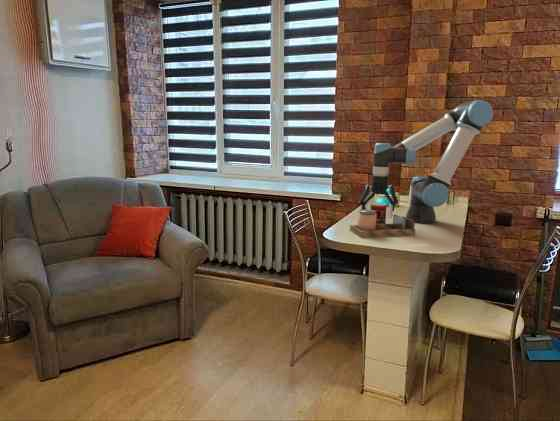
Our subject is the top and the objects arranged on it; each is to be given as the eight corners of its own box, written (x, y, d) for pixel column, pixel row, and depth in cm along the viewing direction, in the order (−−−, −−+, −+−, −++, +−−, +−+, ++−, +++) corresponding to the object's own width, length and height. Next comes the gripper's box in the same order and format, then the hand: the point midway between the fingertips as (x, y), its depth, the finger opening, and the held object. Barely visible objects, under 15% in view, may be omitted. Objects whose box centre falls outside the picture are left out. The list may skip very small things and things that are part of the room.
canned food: (374, 227, 211) (375, 205, 208) (366, 224, 218) (367, 202, 216) (388, 227, 213) (389, 204, 210) (380, 223, 220) (381, 202, 218)
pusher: (400, 228, 204) (401, 214, 202) (410, 233, 194) (411, 218, 193) (392, 228, 203) (393, 214, 201) (402, 233, 193) (403, 218, 192)
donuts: (386, 190, 266) (373, 188, 274) (385, 206, 268) (373, 204, 276) (396, 189, 273) (383, 187, 280) (395, 204, 274) (383, 202, 282)
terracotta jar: (371, 230, 200) (372, 209, 198) (378, 234, 192) (379, 212, 190) (354, 231, 198) (355, 209, 196) (361, 235, 190) (362, 212, 188)
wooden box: (401, 230, 205) (402, 216, 204) (414, 237, 194) (415, 221, 192) (349, 232, 200) (350, 217, 199) (360, 239, 188) (360, 223, 187)
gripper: (400, 174, 217) (396, 216, 221) (353, 174, 212) (350, 216, 216) (407, 176, 210) (404, 219, 214) (359, 176, 204) (356, 219, 208)
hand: (377, 218), depth 215 cm, fingers open, 13 cm apart
